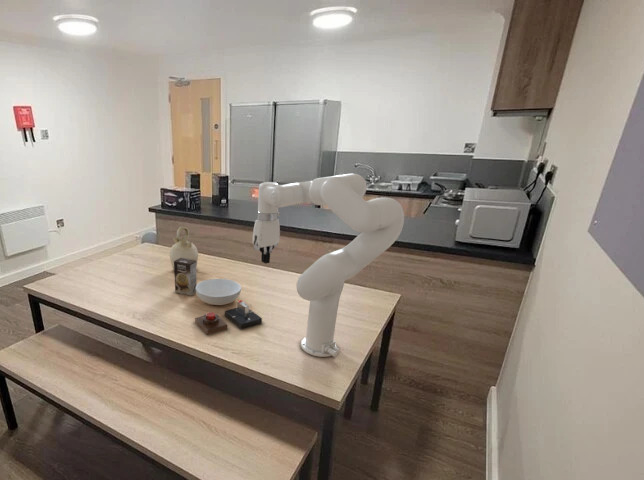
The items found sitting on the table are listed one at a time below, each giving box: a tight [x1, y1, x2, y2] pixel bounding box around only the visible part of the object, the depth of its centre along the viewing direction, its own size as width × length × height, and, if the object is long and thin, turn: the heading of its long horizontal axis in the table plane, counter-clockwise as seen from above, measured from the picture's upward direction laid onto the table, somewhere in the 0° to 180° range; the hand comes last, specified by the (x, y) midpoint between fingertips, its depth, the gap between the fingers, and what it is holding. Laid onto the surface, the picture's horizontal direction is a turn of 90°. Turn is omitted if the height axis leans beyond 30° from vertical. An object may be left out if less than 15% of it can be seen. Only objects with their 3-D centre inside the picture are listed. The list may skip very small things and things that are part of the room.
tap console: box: [224, 307, 263, 330], centre depth 157 cm, size 13×10×3 cm
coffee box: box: [173, 258, 198, 296], centre depth 180 cm, size 9×6×16 cm
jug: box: [169, 226, 199, 271], centre depth 204 cm, size 15×16×25 cm
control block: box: [194, 313, 228, 335], centre depth 152 cm, size 11×9×4 cm
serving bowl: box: [195, 278, 242, 306], centre depth 173 cm, size 21×21×7 cm
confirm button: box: [205, 311, 216, 320], centre depth 151 cm, size 4×4×2 cm
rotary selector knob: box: [236, 299, 250, 318], centre depth 155 cm, size 6×2×5 cm, turn 28°
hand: (265, 262), depth 148 cm, fingers closed
